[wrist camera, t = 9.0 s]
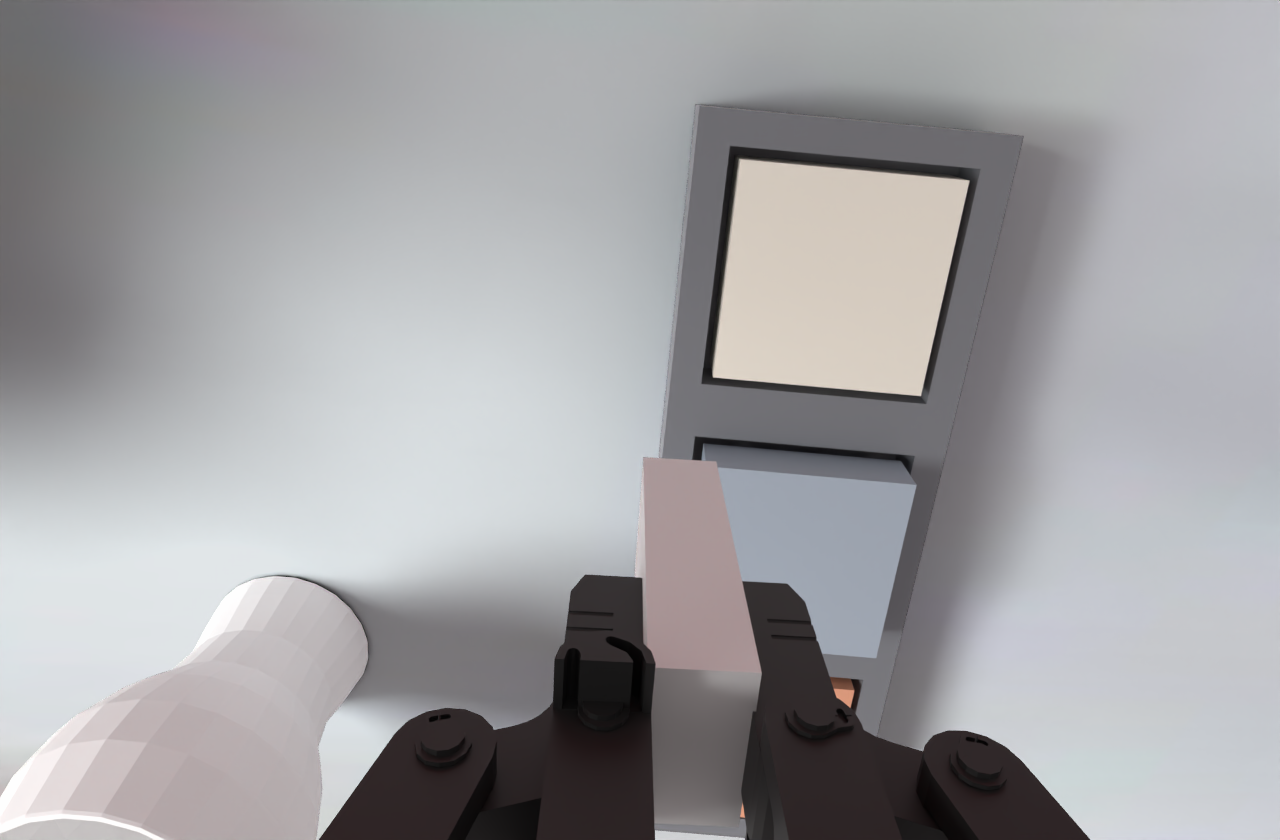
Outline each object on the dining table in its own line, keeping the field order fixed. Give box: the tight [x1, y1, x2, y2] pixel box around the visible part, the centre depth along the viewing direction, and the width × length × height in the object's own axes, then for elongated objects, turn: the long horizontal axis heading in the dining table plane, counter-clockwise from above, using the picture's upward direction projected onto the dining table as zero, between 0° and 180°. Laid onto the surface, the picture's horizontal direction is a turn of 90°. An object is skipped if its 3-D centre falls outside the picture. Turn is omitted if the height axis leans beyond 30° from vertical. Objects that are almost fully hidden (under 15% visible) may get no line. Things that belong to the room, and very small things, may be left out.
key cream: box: [710, 155, 969, 396], centre depth 31 cm, size 8×8×2 cm
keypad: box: [654, 105, 1024, 838], centre depth 36 cm, size 33×11×4 cm, turn 175°
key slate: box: [701, 443, 917, 658], centre depth 34 cm, size 8×8×2 cm
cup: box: [0, 576, 368, 840], centre depth 34 cm, size 11×11×15 cm
